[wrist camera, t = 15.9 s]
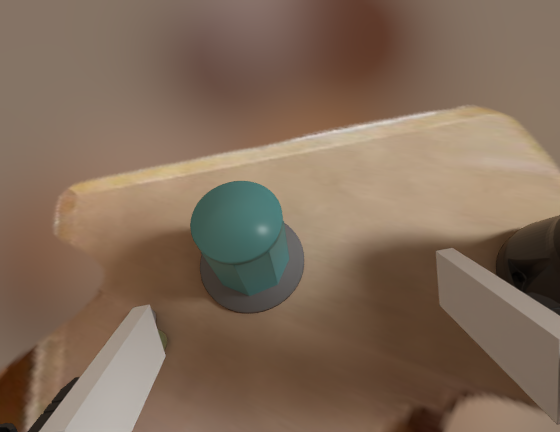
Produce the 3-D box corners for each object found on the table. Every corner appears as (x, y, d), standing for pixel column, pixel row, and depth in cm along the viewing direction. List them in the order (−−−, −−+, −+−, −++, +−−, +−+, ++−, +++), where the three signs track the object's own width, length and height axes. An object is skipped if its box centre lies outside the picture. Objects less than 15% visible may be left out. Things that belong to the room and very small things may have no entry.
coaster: (255, 200, 51) (254, 197, 50) (325, 258, 45) (326, 256, 45) (181, 263, 46) (179, 261, 46) (248, 337, 41) (248, 336, 40)
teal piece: (299, 240, 46) (296, 195, 37) (270, 307, 42) (258, 275, 32) (236, 218, 49) (217, 171, 39) (202, 279, 44) (172, 242, 35)
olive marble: (161, 327, 42) (152, 321, 40) (175, 344, 41) (166, 339, 38) (141, 345, 41) (130, 340, 39) (155, 363, 40) (144, 360, 38)
